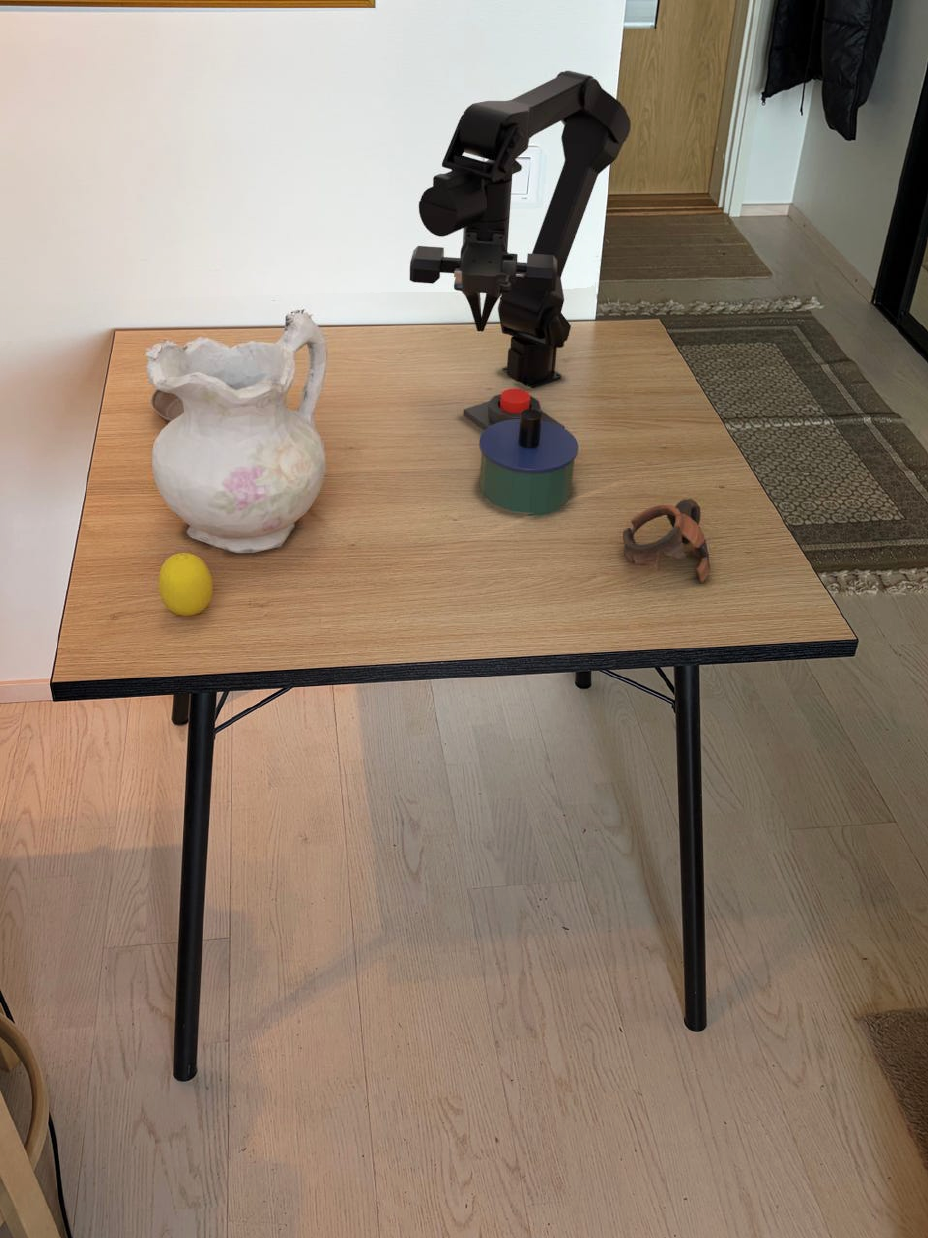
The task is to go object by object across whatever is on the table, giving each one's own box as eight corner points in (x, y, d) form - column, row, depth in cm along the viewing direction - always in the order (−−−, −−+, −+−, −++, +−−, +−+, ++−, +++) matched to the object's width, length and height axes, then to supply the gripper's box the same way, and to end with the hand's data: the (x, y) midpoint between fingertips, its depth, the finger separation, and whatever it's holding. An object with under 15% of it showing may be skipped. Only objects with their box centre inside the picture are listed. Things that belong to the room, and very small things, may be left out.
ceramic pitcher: (261, 467, 151) (234, 279, 136) (378, 510, 142) (362, 313, 127) (134, 543, 137) (88, 343, 122) (255, 596, 128) (221, 387, 113)
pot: (532, 458, 154) (536, 415, 150) (588, 498, 147) (594, 454, 143) (462, 483, 148) (464, 439, 144) (517, 526, 141) (521, 481, 137)
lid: (536, 417, 150) (539, 381, 147) (598, 459, 143) (602, 422, 140) (459, 442, 145) (460, 406, 141) (519, 487, 137) (522, 450, 134)
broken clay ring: (703, 602, 132) (676, 550, 127) (630, 604, 138) (602, 555, 133) (734, 528, 138) (709, 476, 133) (663, 533, 144) (637, 483, 139)
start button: (517, 397, 160) (518, 385, 159) (535, 409, 158) (536, 397, 156) (494, 404, 158) (494, 393, 157) (511, 417, 156) (512, 405, 155)
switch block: (514, 402, 165) (516, 379, 163) (563, 435, 159) (566, 413, 156) (462, 418, 161) (464, 396, 159) (511, 454, 154) (513, 430, 152)
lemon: (171, 636, 123) (162, 575, 118) (157, 606, 126) (147, 546, 121) (222, 622, 125) (215, 562, 120) (206, 593, 128) (199, 534, 123)
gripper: (405, 232, 140) (404, 352, 149) (560, 243, 139) (549, 362, 149) (415, 200, 148) (413, 315, 158) (561, 210, 148) (550, 325, 158)
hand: (480, 330), depth 155 cm, fingers closed
